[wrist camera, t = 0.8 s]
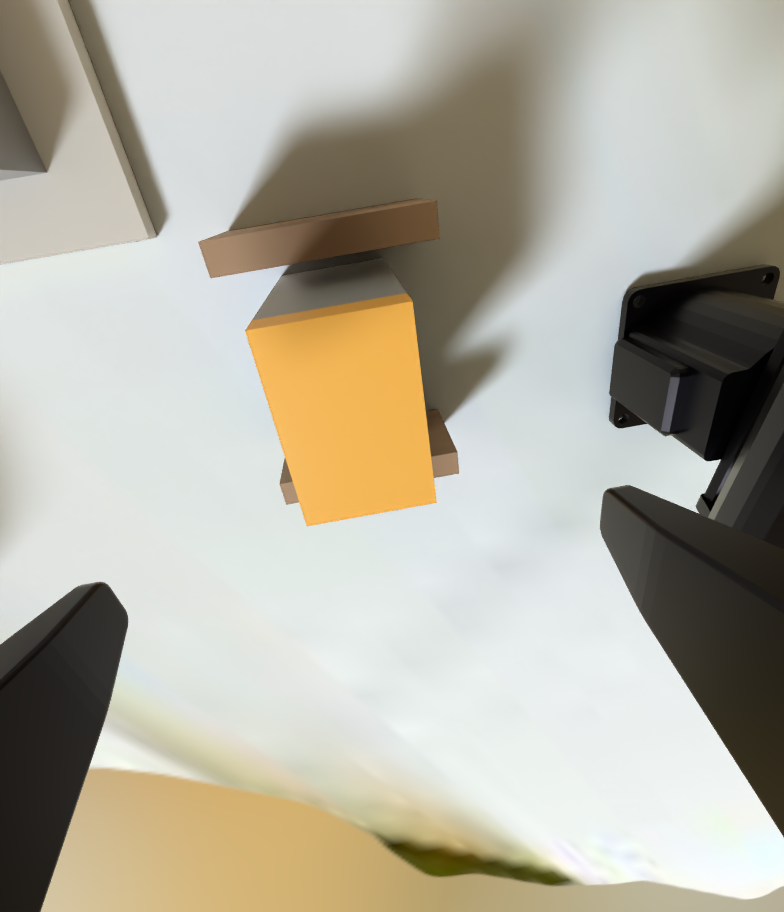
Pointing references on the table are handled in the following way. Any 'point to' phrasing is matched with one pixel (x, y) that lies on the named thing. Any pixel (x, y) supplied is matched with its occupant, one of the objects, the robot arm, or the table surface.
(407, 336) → the plug
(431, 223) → the wooden blocks
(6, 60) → the dock
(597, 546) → the table surface
